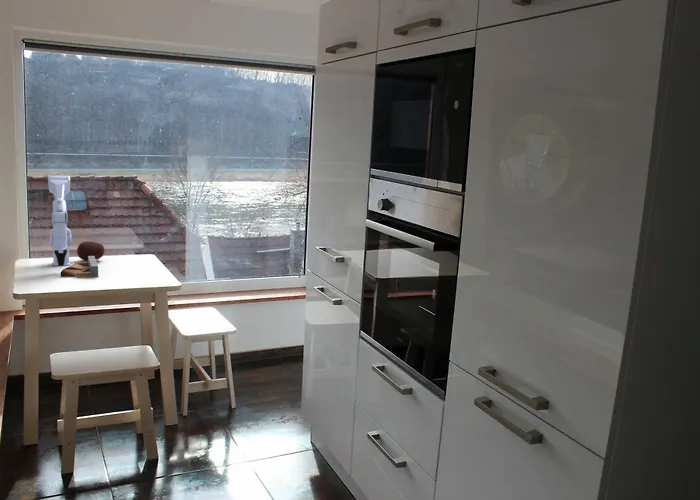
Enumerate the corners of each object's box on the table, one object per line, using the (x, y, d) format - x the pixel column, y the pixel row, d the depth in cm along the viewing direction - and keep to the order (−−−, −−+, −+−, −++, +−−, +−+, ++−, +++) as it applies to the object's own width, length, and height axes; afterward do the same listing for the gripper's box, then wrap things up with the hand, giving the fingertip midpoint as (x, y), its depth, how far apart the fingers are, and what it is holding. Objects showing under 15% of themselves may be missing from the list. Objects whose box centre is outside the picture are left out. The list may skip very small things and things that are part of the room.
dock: (75, 266, 312) (74, 256, 312) (94, 265, 316) (94, 255, 315) (77, 277, 288) (76, 267, 288) (98, 276, 292) (98, 266, 291)
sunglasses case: (79, 277, 290) (71, 264, 288) (66, 284, 290) (57, 272, 288) (91, 269, 307) (84, 257, 306) (79, 276, 307) (71, 264, 306)
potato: (104, 262, 324) (104, 243, 323) (76, 263, 319) (76, 243, 318) (104, 258, 334) (104, 239, 333) (77, 259, 330) (76, 239, 328)
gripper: (50, 234, 300) (51, 262, 302) (50, 239, 287) (51, 268, 289) (67, 234, 303) (67, 262, 305) (67, 239, 290) (68, 268, 292)
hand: (61, 265), depth 297 cm, fingers closed
